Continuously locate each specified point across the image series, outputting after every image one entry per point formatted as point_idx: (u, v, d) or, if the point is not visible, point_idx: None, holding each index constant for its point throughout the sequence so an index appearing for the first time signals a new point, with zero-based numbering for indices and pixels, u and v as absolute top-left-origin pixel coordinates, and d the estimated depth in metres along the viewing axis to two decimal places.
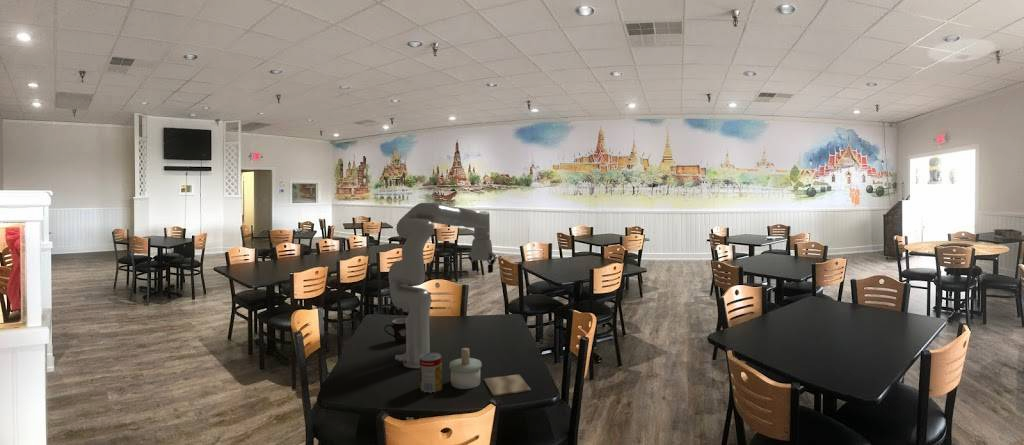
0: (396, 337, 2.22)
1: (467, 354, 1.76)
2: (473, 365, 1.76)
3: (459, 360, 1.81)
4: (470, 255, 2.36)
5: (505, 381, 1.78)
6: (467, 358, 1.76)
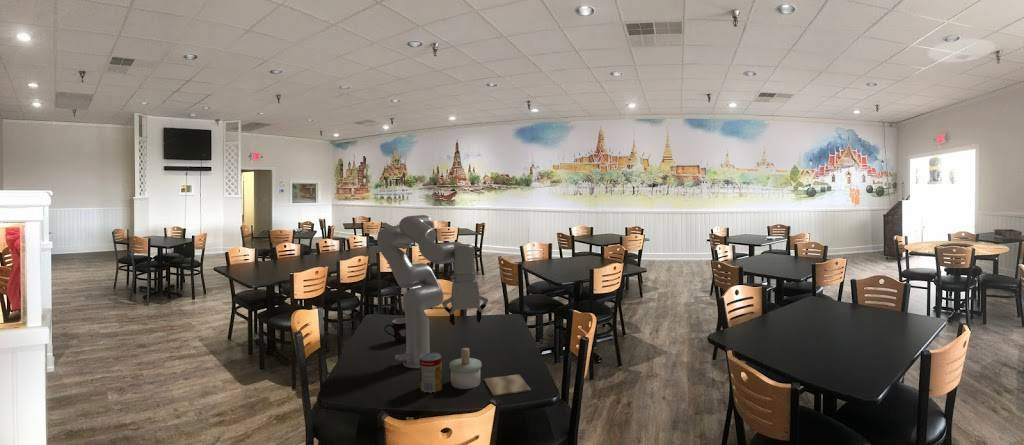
0: (396, 337, 2.22)
1: (467, 354, 1.76)
2: (473, 365, 1.76)
3: (459, 360, 1.81)
4: (446, 305, 1.74)
5: (505, 381, 1.78)
6: (467, 358, 1.76)
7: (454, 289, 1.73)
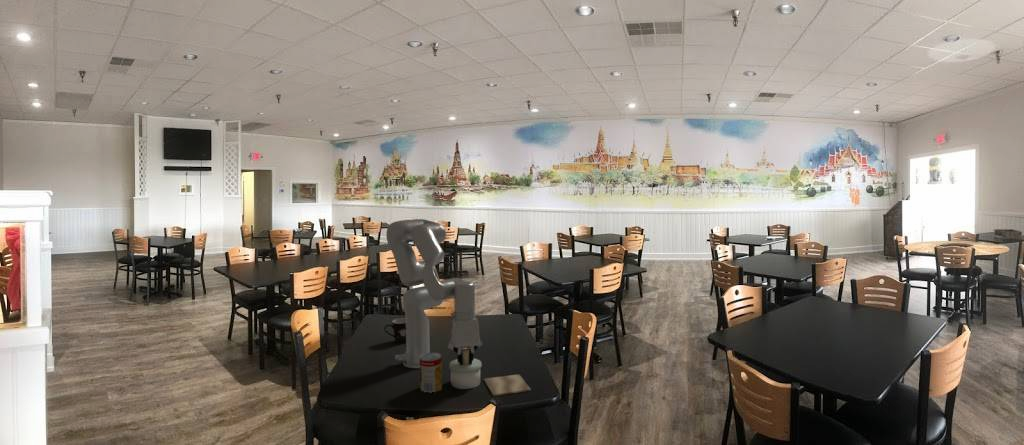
0: (396, 337, 2.22)
1: (467, 354, 1.76)
2: (473, 365, 1.76)
3: None
4: (452, 346, 1.75)
5: (505, 381, 1.78)
6: (467, 358, 1.76)
7: (454, 327, 1.73)
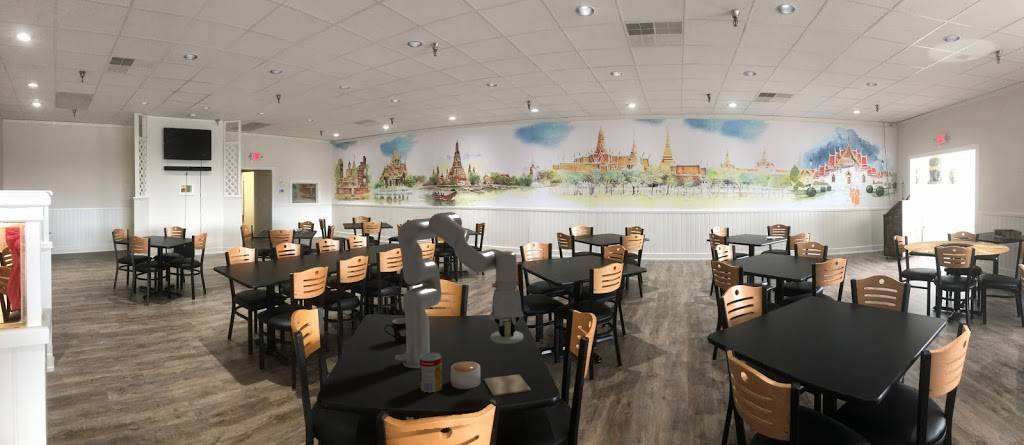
0: (396, 337, 2.22)
1: (509, 325, 1.72)
2: (515, 336, 1.72)
3: None
4: (494, 317, 1.72)
5: (505, 381, 1.78)
6: (509, 329, 1.73)
7: (496, 297, 1.69)
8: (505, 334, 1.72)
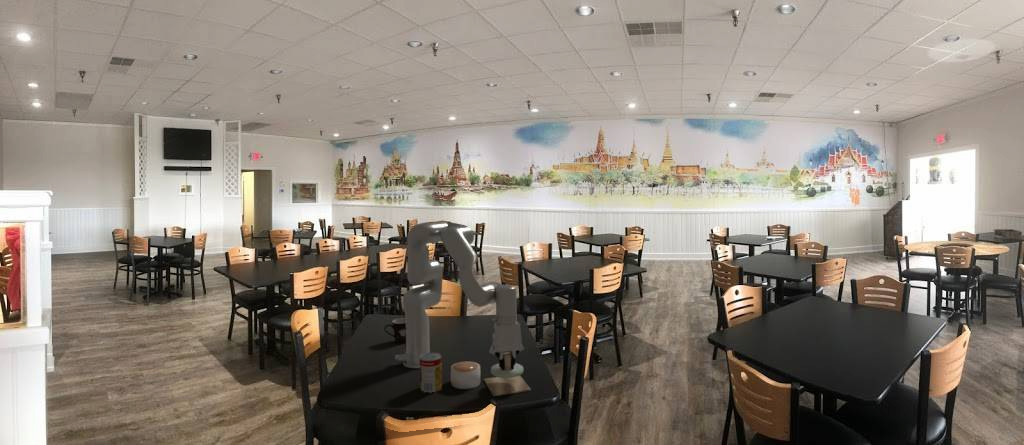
0: (396, 337, 2.22)
1: (509, 358, 1.73)
2: (515, 370, 1.73)
3: None
4: (494, 350, 1.73)
5: (505, 381, 1.78)
6: (509, 363, 1.74)
7: (496, 332, 1.70)
8: (505, 367, 1.74)
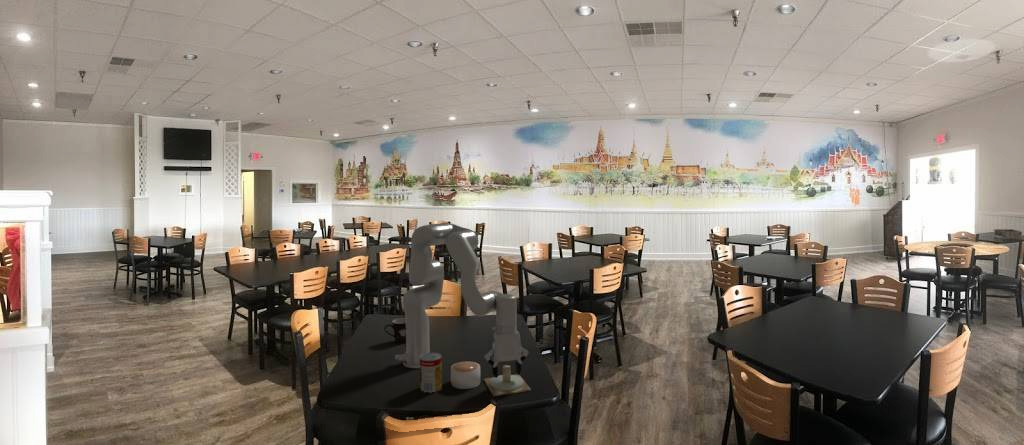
0: (396, 337, 2.22)
1: (508, 371, 1.74)
2: (515, 383, 1.74)
3: (499, 377, 1.79)
4: None
5: None
6: (509, 376, 1.74)
7: (496, 341, 1.71)
8: (505, 380, 1.74)
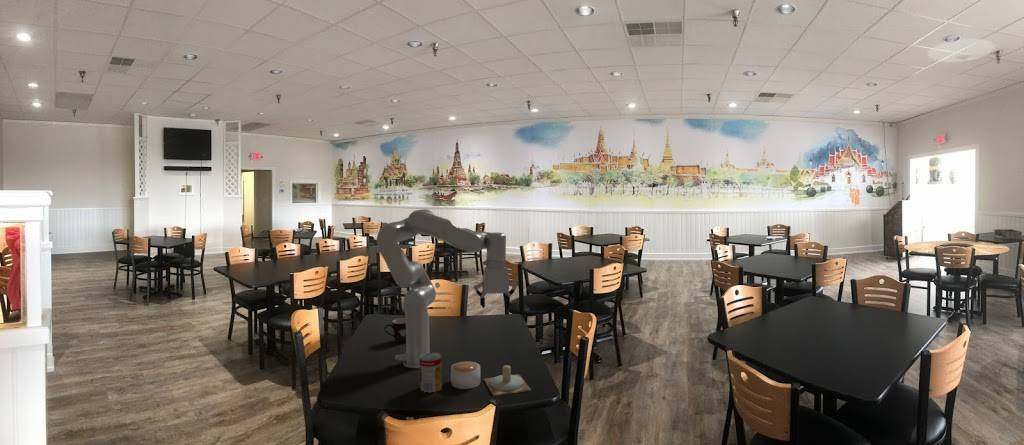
0: (396, 337, 2.22)
1: (508, 371, 1.74)
2: (515, 383, 1.74)
3: (499, 377, 1.79)
4: None
5: None
6: (509, 376, 1.74)
7: (486, 274, 1.85)
8: (505, 380, 1.74)
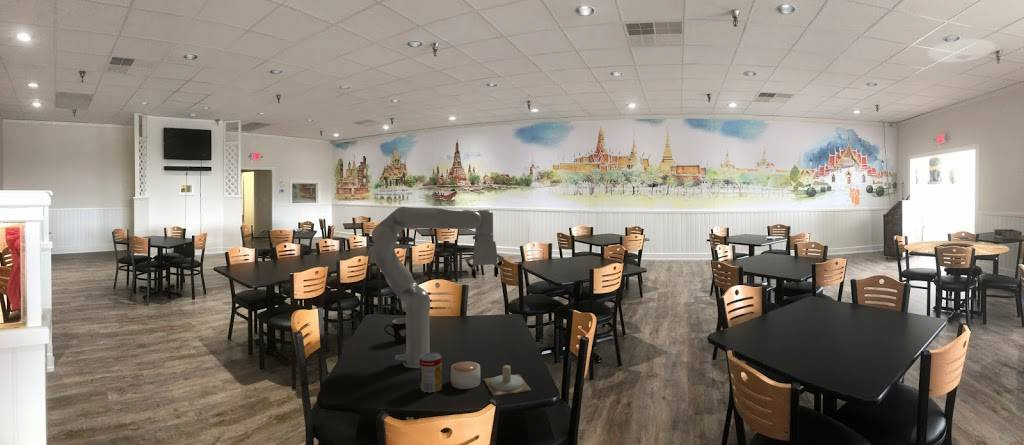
0: (396, 337, 2.22)
1: (508, 371, 1.74)
2: (515, 383, 1.74)
3: (499, 377, 1.79)
4: None
5: None
6: (509, 376, 1.74)
7: (476, 247, 2.04)
8: (505, 380, 1.74)
